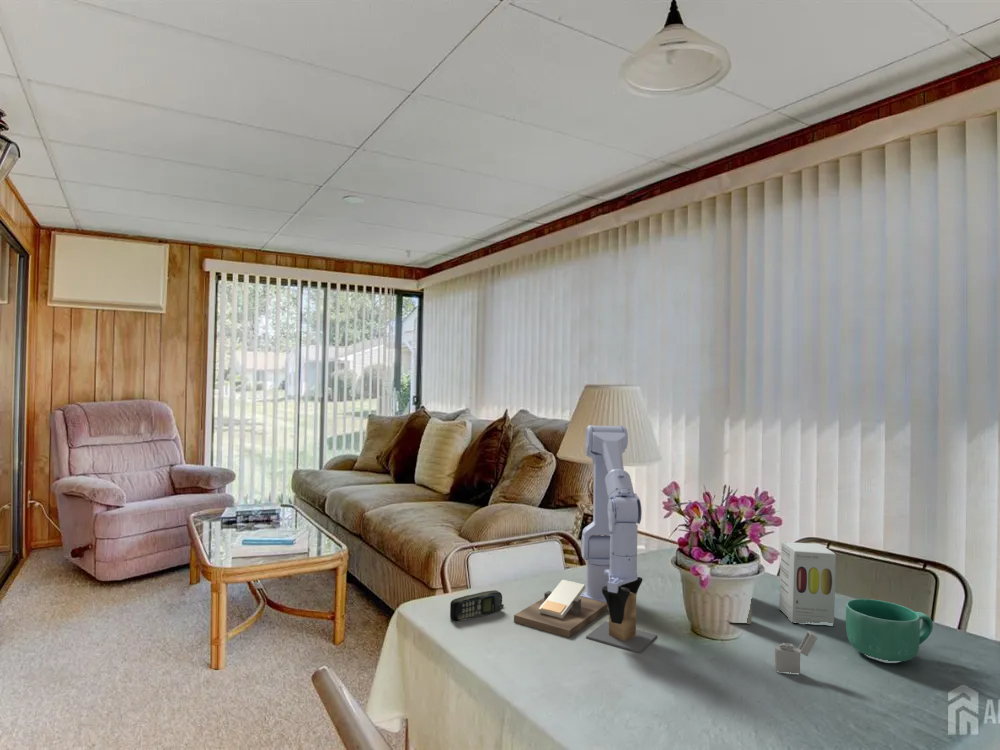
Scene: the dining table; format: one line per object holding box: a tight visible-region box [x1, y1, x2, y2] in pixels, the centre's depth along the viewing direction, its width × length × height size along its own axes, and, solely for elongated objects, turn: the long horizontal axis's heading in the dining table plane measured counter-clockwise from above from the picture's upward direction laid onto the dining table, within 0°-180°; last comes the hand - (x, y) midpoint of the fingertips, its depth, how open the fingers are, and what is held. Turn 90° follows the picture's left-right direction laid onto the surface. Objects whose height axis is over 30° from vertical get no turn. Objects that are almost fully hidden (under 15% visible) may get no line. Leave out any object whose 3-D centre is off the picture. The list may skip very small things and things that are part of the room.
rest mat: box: [585, 621, 658, 654], centre depth 128 cm, size 10×12×1 cm
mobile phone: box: [449, 589, 505, 623], centre depth 139 cm, size 5×3×15 cm
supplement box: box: [778, 541, 837, 624], centre depth 141 cm, size 10×9×17 cm
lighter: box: [774, 630, 818, 674], centre depth 113 cm, size 7×2×8 cm, turn 78°
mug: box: [845, 598, 934, 662], centre depth 121 cm, size 17×13×10 cm
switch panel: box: [513, 590, 609, 638], centre depth 139 cm, size 20×14×4 cm
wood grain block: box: [608, 587, 637, 641], centre depth 128 cm, size 4×4×10 cm
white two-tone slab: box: [539, 579, 586, 619], centre depth 139 cm, size 12×6×1 cm, turn 146°
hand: (622, 616), depth 128 cm, fingers open, 7 cm apart
